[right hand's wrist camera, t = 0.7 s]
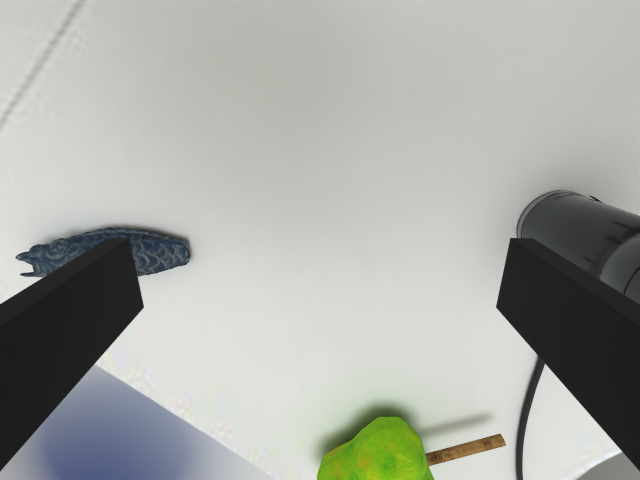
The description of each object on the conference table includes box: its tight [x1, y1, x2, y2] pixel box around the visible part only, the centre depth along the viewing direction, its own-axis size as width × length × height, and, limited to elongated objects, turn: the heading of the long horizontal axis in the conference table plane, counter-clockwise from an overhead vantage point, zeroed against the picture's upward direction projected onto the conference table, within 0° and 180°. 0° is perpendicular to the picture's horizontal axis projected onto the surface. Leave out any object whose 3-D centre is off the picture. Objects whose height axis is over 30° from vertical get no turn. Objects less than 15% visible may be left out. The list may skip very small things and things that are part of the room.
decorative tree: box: [317, 417, 506, 480], centre depth 55 cm, size 18×10×30 cm
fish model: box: [15, 228, 190, 277], centre depth 45 cm, size 7×21×5 cm, turn 92°
